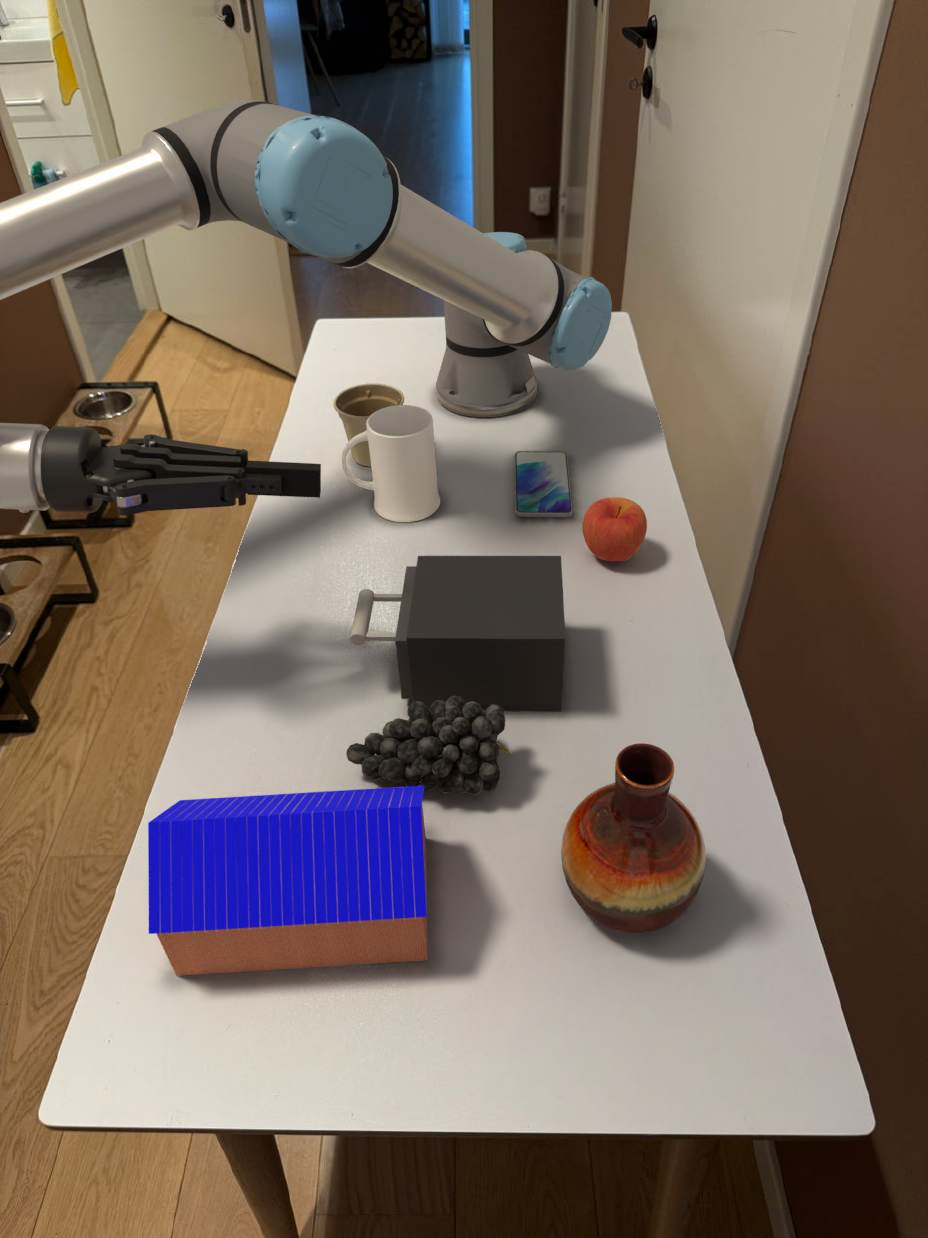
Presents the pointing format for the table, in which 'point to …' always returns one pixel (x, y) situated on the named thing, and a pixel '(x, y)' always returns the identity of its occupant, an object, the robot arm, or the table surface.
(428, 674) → the cabinet
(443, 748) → the fruit
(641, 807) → the vase
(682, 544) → the table surface
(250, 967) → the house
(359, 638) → the drawer
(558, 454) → the smartphone
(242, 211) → the robot arm
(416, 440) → the mug
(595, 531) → the apple
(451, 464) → the table surface
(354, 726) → the table surface
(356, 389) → the flower pot
